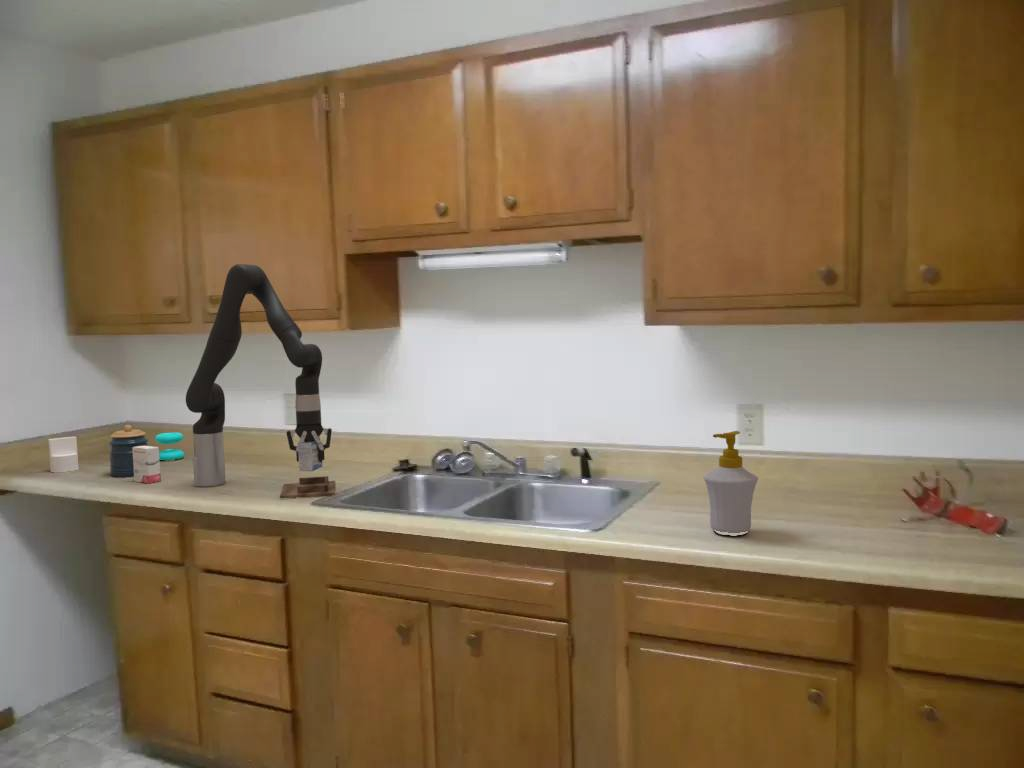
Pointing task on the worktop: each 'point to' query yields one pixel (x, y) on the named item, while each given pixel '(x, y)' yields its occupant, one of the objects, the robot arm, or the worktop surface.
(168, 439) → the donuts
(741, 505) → the soap bottle
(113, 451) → the canister
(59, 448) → the base with upright slab
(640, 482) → the worktop surface
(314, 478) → the holder board
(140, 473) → the ink box
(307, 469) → the medicine box
